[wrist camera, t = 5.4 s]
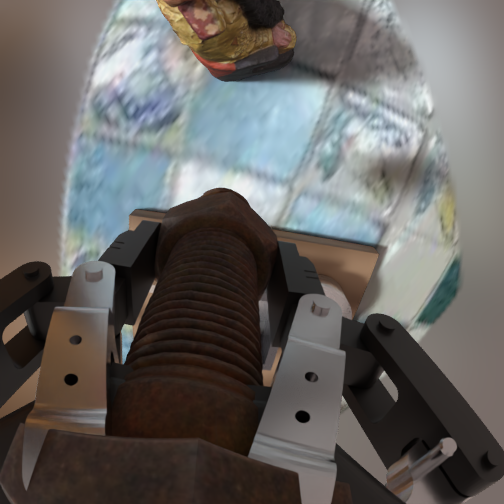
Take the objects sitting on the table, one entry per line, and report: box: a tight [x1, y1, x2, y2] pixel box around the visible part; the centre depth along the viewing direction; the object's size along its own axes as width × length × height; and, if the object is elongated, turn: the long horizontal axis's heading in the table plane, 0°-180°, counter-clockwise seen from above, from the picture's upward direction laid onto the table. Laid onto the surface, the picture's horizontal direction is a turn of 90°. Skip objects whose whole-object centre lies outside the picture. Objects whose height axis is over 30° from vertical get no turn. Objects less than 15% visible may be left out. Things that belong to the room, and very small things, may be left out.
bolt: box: [0, 188, 353, 504], centre depth 9 cm, size 6×5×15 cm
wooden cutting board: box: [129, 209, 379, 387], centre depth 34 cm, size 25×25×2 cm
